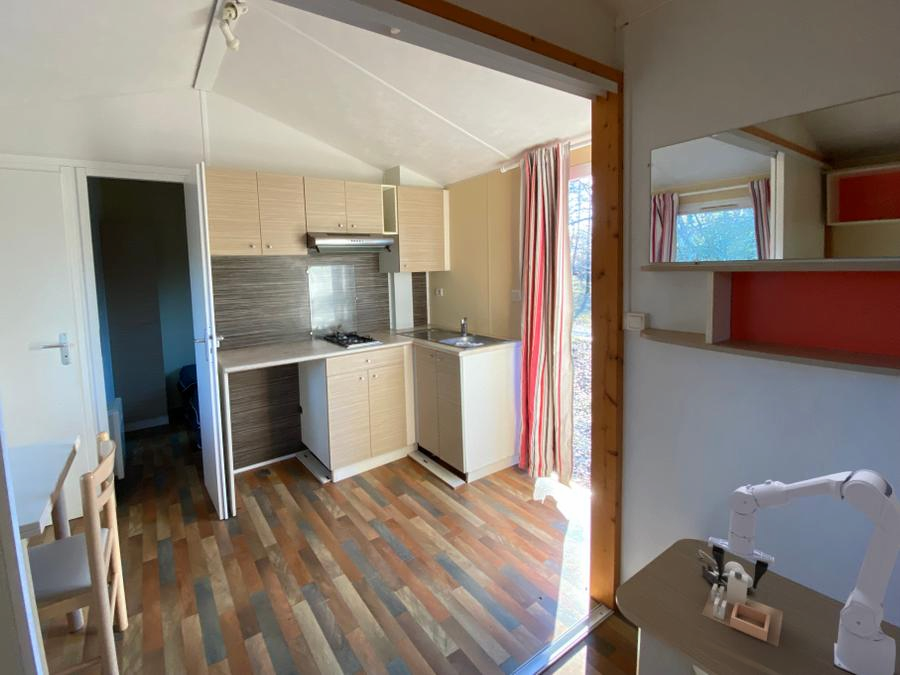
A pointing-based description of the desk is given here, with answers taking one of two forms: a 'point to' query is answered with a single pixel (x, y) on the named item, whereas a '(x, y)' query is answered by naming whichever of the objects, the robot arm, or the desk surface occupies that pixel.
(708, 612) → the board
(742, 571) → the clip-on lamp
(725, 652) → the desk surface
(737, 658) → the desk surface
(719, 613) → the clips
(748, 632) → the frame
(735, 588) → the connector plug
